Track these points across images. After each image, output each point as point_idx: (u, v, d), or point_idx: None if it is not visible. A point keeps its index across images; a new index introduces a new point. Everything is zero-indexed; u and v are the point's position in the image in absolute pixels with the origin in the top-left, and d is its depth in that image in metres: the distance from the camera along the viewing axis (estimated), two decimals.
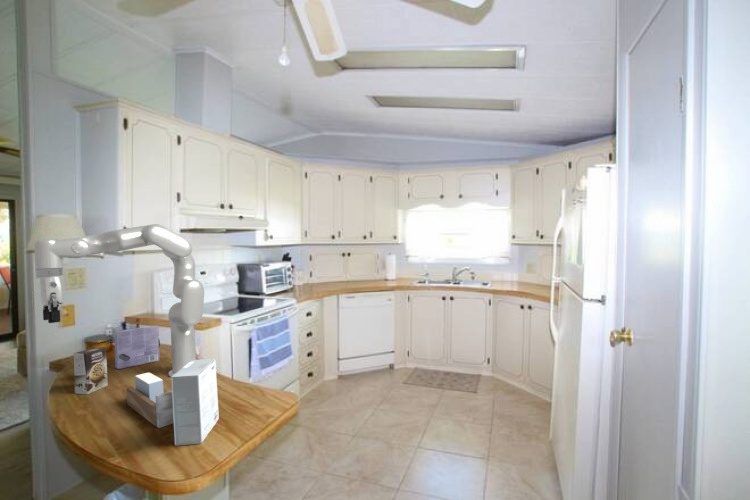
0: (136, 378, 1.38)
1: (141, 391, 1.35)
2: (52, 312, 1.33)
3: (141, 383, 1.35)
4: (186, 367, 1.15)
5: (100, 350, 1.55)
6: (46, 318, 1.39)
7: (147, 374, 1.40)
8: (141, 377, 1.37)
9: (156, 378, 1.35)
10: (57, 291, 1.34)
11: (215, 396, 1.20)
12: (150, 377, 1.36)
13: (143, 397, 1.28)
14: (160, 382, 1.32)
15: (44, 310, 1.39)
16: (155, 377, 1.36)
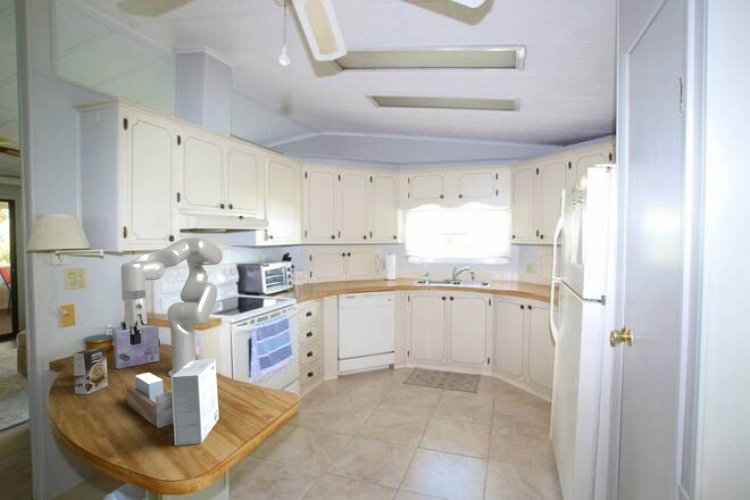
0: (136, 378, 1.38)
1: (141, 391, 1.35)
2: (134, 335, 1.42)
3: (140, 383, 1.35)
4: (186, 367, 1.15)
5: (100, 350, 1.55)
6: None
7: (147, 374, 1.40)
8: (141, 377, 1.37)
9: (156, 378, 1.35)
10: (142, 313, 1.41)
11: (215, 396, 1.20)
12: (150, 377, 1.36)
13: (143, 397, 1.28)
14: (160, 382, 1.32)
15: None
16: (155, 377, 1.36)
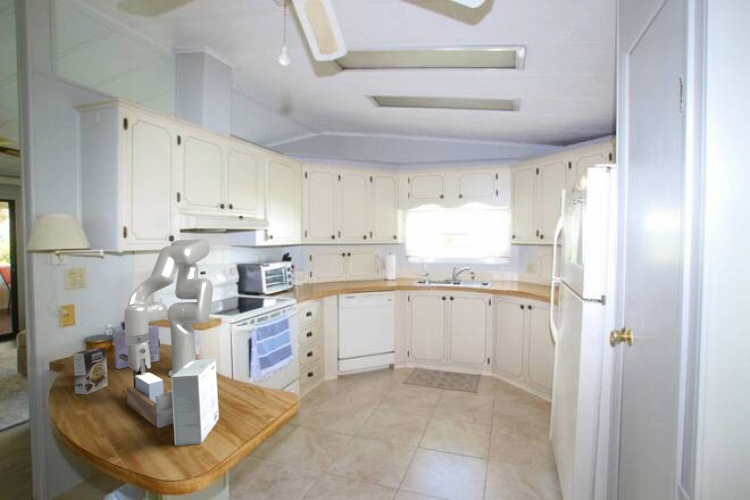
0: (136, 378, 1.38)
1: (141, 391, 1.35)
2: None
3: (141, 383, 1.35)
4: (186, 367, 1.15)
5: (100, 350, 1.55)
6: None
7: (147, 374, 1.40)
8: (141, 377, 1.36)
9: (156, 378, 1.35)
10: (146, 357, 1.40)
11: (215, 396, 1.20)
12: (150, 377, 1.36)
13: (143, 397, 1.28)
14: (160, 382, 1.32)
15: None
16: (155, 377, 1.36)
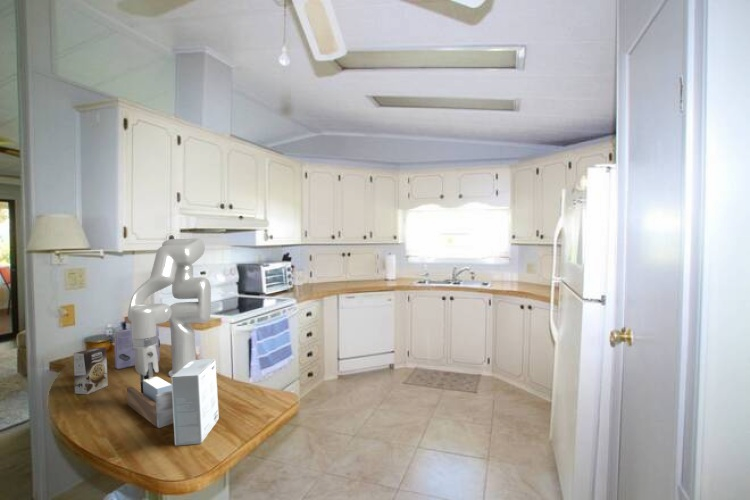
0: (144, 382, 1.33)
1: (149, 396, 1.30)
2: None
3: (148, 388, 1.30)
4: (186, 367, 1.15)
5: (100, 350, 1.55)
6: None
7: (155, 378, 1.34)
8: (149, 381, 1.31)
9: (164, 383, 1.30)
10: (154, 361, 1.35)
11: (215, 396, 1.20)
12: (158, 381, 1.31)
13: (143, 397, 1.28)
14: (169, 387, 1.27)
15: None
16: (163, 381, 1.31)
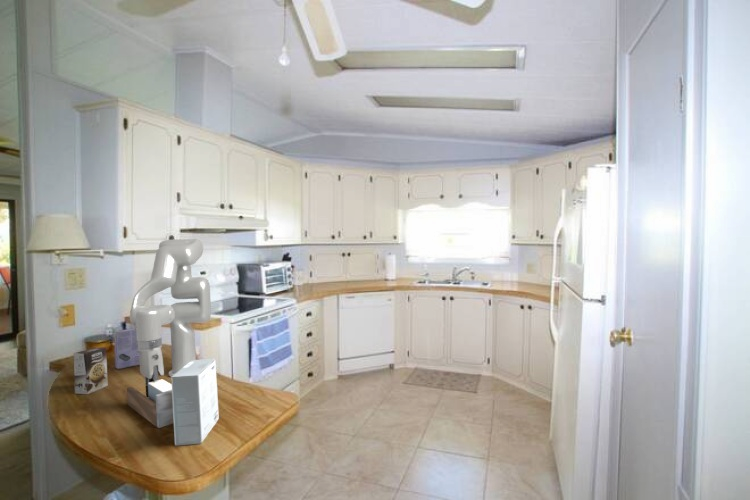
0: (149, 385, 1.30)
1: (154, 399, 1.27)
2: None
3: (154, 391, 1.27)
4: (186, 367, 1.15)
5: (100, 350, 1.55)
6: None
7: (160, 381, 1.31)
8: (154, 384, 1.28)
9: (170, 386, 1.27)
10: (159, 363, 1.32)
11: (215, 396, 1.20)
12: (164, 384, 1.28)
13: (143, 397, 1.28)
14: None
15: None
16: (169, 384, 1.28)
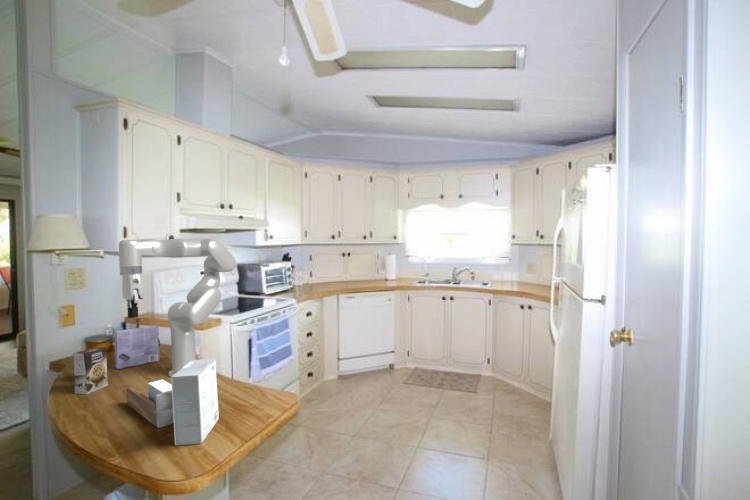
0: (149, 386, 1.30)
1: (154, 400, 1.27)
2: (132, 308, 1.50)
3: (154, 391, 1.27)
4: (186, 367, 1.15)
5: (100, 350, 1.55)
6: None
7: (161, 381, 1.31)
8: (154, 385, 1.28)
9: (170, 386, 1.27)
10: (139, 287, 1.48)
11: (215, 396, 1.20)
12: (164, 385, 1.28)
13: (143, 397, 1.28)
14: None
15: None
16: (169, 385, 1.28)
